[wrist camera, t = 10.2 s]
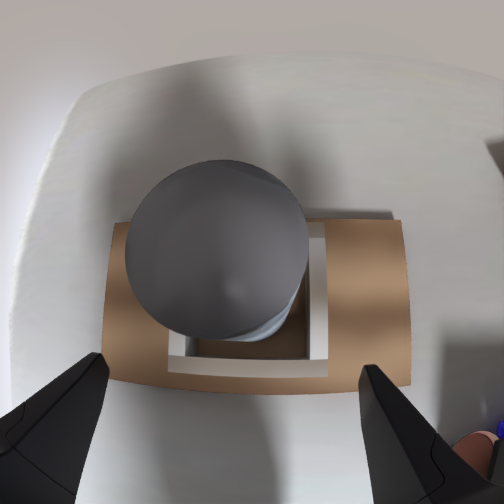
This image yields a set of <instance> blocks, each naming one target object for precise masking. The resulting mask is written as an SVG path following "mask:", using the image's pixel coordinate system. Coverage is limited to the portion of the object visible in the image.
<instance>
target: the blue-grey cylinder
mask: <svg viewBox="0 0 504 504" xmlns="http://www.w3.org/2000/svg"><path fill="white" fill-rule="evenodd" d="M308 254H309V236H308V228H307V224H306V220H305V217H304V214H303V212H302V209H301V207H300V205H299V203H298V202H297V200H296V198H295V197H294V196H293V194H292V193H291V192H290V190H289V189H288V188H287V187H286V186H285V185H284V184H283V183H282V182H281V181H280V180H278V179H277V178H276V177H275V176H273V175H272V174H270V173H268V172H267V171H265V170H263V169H261V168H259V167H256V166H254V165H251V164H248V163H244V162H239V161H233V160H213V161H205V162H201V163H196V164H193V165H190V166H187V167H185V168H183V169H181V170H178V171H176V172H175V173H173V174H171V175H170V176H168V177H167V178H165V179H164V180H163V181H161V182H160V183H159V184H158V185H157V186H156V187H154V188H153V189H152V190H151V191H150V192H149V194H148V195H147V196H146V197H145V198H144V200H143V201H142V203H141V204H140V206H139V207H138V209H137V211H136V213H135V215H134V216H133V218H132V221H131V224H130V227H129V229H128V233H127V238H126V244H125V266H126V272H127V276H128V280H129V283H130V286H131V288H132V290H133V293H134V295H135V296H136V298H137V300H138V301H139V303H140V304H141V306H142V307H143V308H144V309H145V310H146V312H147V313H148V314H149V315H150V316H151V317H152V318H154V319H155V320H156V321H157V322H158V323H160V324H161V325H163V326H165V327H166V328H168V329H170V330H172V331H174V332H176V333H178V334H181V335H185V336H188V337H191V338H198V339H206V340H223V341H245V342H256V341H261V340H265V339H267V338H269V337H271V336H272V335H274V334H275V333H276V332H277V331H278V330H279V329H280V328H281V327H282V325H283V324H284V322H285V320H286V318H287V315H288V313H289V310H290V308H291V306H292V303H293V301H294V298H295V296H296V293H297V291H298V288H299V286H300V283H301V280H302V278H303V275H304V272H305V269H306V265H307V260H308Z"/></svg>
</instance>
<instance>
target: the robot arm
mask: <svg viewBox="0 0 504 504" xmlns="http://www.w3.org/2000/svg"><path fill="white" fill-rule="evenodd" d="M109 375H110V369H109V366H108V364H107V362H106V360H105V358H104V356H103V355H102V354H101V353H96V352H91V353H90V354H88V355H87V356H85V357H84V358H83V359H81V360H80V361H79V362H77V363H76V364H74V365H73V366H72V367H70V368H69V369H68V370H66V371H65V372H64V373H62V374H61V375H60V376H58V377H57V378H55V379H54V380H53V381H51V382H50V383H49V384H47V385H46V386H45V387H43V388H42V389H41V390H39V391H38V392H37V393H35V394H34V395H33V396H31V397H30V398H29V399H27V400H26V402H25V401H24V402H23V403H22V404H20V405H19V406H18V407H16V408H15V409H13V410H12V411H11V412H9V413H8V414H6V415H5V416H3V417H2V418H0V504H75V500H76V495H77V491H78V487H79V483H80V479H81V476H82V472H83V468H84V465H85V461H86V458H87V454H88V451H89V447H90V444H91V441H92V437H93V434H94V431H95V428H96V425H97V422H98V419H99V415H100V412H101V409H102V405H103V401H104V397H105V392H106V388H107V383H108V379H109ZM358 390H359V402H360V416H361V427H362V433H363V438H364V444H365V450H366V455H367V461H368V467H369V474H370V480H371V487H372V494H373V501H374V504H504V486H503V485H498V484H495V483H492V482H490V481H488V480H487V479H485V478H484V477H483V476H482V475H480V474H479V473H478V472H477V471H476V470H475V469H474V468H472V467H471V466H470V465H469V464H468V463H467V462H466V461H465V460H463V459H462V458H461V457H460V456H459V455H458V454H457V453H456V452H455V451H454V450H453V449H452V448H451V447H450V446H449V445H448V444H447V443H446V442H445V441H444V440H443V438H442V437H441V436H440V435H439V434H438V433H436V431H435V429H434V428H433V427H432V426H431V425H430V424H429V423H428V421H427V420H426V419H425V418H424V417H423V416H422V415H421V414H420V412H419V411H418V410H417V409H416V408H415V407H414V406H413V405H412V403H411V402H410V401H409V400H408V399H407V398H406V397H405V396H404V394H403V393H402V392H401V391H400V390H399V389H398V388H397V387H396V386H395V384H394V383H393V382H392V381H391V380H390V379H389V378H388V377H387V376H386V374H385V373H384V372H383V371H382V370H381V369H380V368H379V367H378V366H377V365H376V364H366V365H364V366H363V368H362V371H361V374H360V378H359V381H358Z"/></svg>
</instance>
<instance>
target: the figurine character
mask: <svg viewBox="0 0 504 504" xmlns="http://www.w3.org/2000/svg"><path fill="white" fill-rule="evenodd" d="M497 433H498V434H497V435H495V434H493V433H491V432H488V431H477V432H473V433H471V434H468V435H466V436H465V437H463V438H462V439H461V440H460V441H458V442H457V443H456V444H455V446H454V447H453V448H452V449H453V450H454V451H455V452H456V453H457V454H458V455H459V456H460V457H461V458H462V459H463V460H465V461H466V462H467V463H468V464H469V465H470V466H471V467H472V468H474V469H475V470H476V471H477V472H478V473H479V474H480V475H482V476H483V477H484V478H485V479H487V480H488V481H490V482H492V483H495V484H498V485H503V486H504V421H501V422H500V423H499V424H498V426H497Z"/></svg>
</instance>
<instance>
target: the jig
mask: <svg viewBox="0 0 504 504" xmlns="http://www.w3.org/2000/svg"><path fill="white" fill-rule="evenodd" d="M305 220H306V224H307V228H308V236H309V254H308V260H307V265H306V269H305V272H304V275H303V278H302V280H301V283H300V286H299V288H298V291H297V293H296V296H295V298H294V301H293V303H292V306H291V308H290V310H289V313H288V315H287V318H286V320H285V322H284V324H283V325H282V327H281V328H280V329H279V330H278V331H277V332H276V333H275V334H274V335H272V336H271V337H269V338H267V339H265V340H261V341H256V342H245V341H223V340H206V339H198V338H191V337H188V336H185V335H181V334H178V333H176V332H174V331H172V330H170V329H168V328H166V327H165V326H163V325H161V324H160V323H158V322H157V321H156V320H155V319H154V318H152V317H151V316H150V315H149V314H148V313H147V312H146V310H145V309H144V308H143V307H142V306H141V304H140V303H139V301H138V300H137V298H136V296H135V295H134V293H133V290H132V288H131V286H130V283H129V280H128V276H127V272H126V266H125V244H126V238H127V233H128V229H129V227H130V224H131V222H128V223H115V226H114V232H113V238H112V245H111V252H110V259H109V266H108V274H107V283H106V293H105V303H104V316H103V331H102V353H101V354H102V355H103V356H104V358H105V360H106V362H107V364H108V366H109V369H110V375H109V379H114V380H119V381H125V382H131V383H137V384H143V385H150V386H157V387H165V388H173V389H182V390H192V391H203V392H216V393H233V394H261V395H299V394H327V393H344V392H357V391H359V390H358V381H359V378H360V374H361V371H362V368H363V366H364V365H366V364H376V365H377V366H378V367H379V368H380V369H381V370H382V371H383V372H384V373H385V374H386V376H387V377H388V378H389V379H390V380H391V381H392V382H393V383H394V384H395V386H396V387H401V386H408V385H410V384H411V321H410V301H409V287H408V275H407V265H406V256H405V247H404V239H403V232H402V225H401V220H381V219H305Z"/></svg>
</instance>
